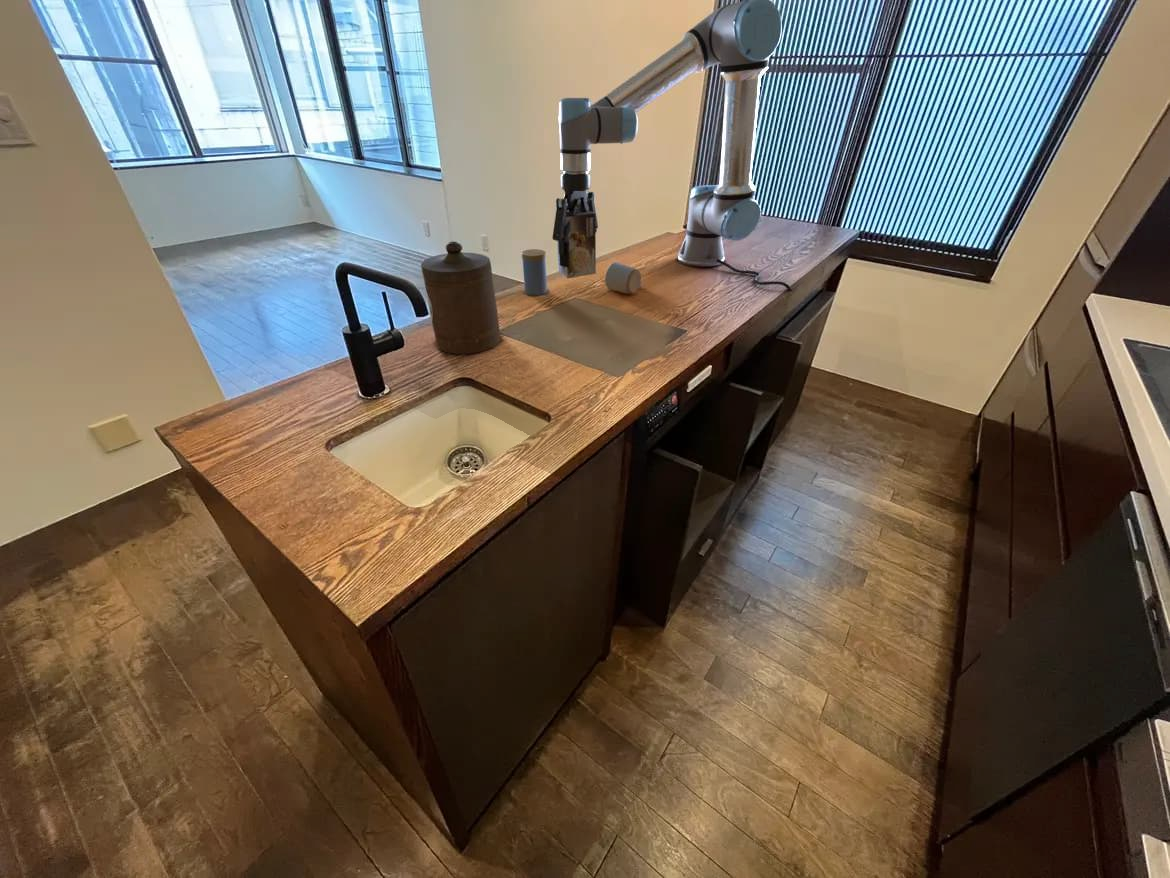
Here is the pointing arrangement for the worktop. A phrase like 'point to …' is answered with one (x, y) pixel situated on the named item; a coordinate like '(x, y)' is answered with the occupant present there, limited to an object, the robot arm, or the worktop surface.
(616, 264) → the ceramic mug
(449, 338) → the wooden container
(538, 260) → the tea tin
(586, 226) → the coffee box
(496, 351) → the worktop surface
